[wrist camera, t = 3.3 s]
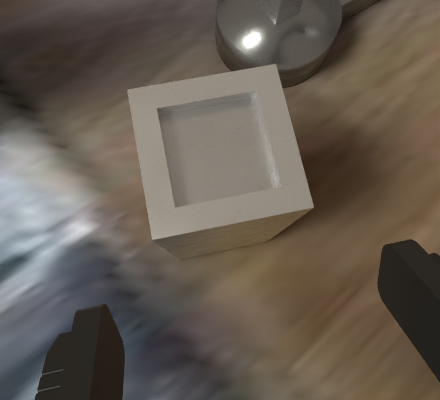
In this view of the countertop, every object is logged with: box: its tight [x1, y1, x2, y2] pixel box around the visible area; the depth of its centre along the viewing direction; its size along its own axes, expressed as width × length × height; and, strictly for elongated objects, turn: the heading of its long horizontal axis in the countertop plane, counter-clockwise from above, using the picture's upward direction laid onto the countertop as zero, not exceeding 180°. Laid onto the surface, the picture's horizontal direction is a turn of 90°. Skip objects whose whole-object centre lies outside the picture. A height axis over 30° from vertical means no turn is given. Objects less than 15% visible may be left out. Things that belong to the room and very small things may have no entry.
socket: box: [127, 64, 314, 260], centre depth 16 cm, size 5×5×10 cm
